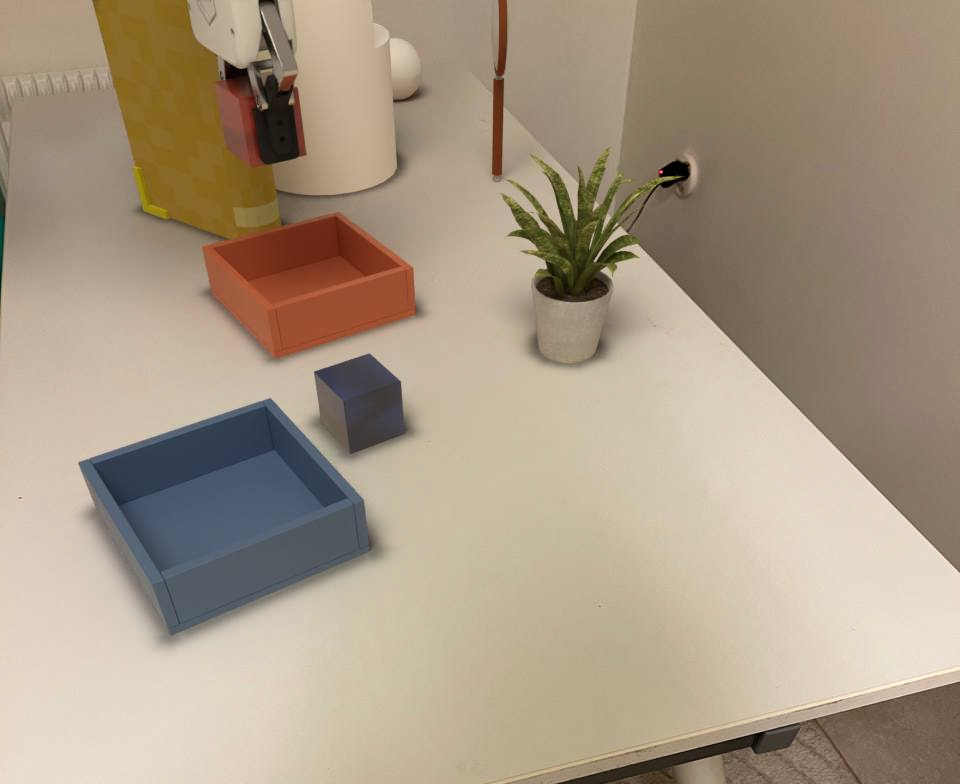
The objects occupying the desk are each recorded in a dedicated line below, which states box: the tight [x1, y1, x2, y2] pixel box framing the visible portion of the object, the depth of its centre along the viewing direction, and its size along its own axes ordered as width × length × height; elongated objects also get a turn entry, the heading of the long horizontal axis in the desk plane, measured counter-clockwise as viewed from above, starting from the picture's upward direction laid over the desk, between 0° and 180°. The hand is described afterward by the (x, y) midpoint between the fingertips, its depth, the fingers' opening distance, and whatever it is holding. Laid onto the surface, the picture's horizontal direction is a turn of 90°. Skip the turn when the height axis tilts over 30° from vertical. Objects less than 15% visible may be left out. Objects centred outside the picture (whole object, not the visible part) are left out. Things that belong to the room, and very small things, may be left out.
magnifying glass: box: [490, 0, 509, 183], centre depth 100 cm, size 9×2×20 cm, turn 3°
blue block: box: [313, 352, 406, 455], centre depth 71 cm, size 5×5×5 cm
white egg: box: [389, 37, 423, 101], centre depth 125 cm, size 10×7×7 cm
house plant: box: [499, 147, 686, 364], centre depth 76 cm, size 14×14×16 cm
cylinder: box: [256, 0, 398, 196], centre depth 100 cm, size 17×17×28 cm
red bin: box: [201, 211, 417, 360], centre depth 85 cm, size 15×15×5 cm
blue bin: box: [77, 397, 371, 636], centre depth 63 cm, size 15×15×5 cm
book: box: [91, 0, 282, 240], centre depth 91 cm, size 17×7×25 cm, turn 55°
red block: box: [214, 71, 307, 168], centre depth 73 cm, size 5×5×5 cm
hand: (265, 146), depth 74 cm, fingers closed on red block, 5 cm apart
